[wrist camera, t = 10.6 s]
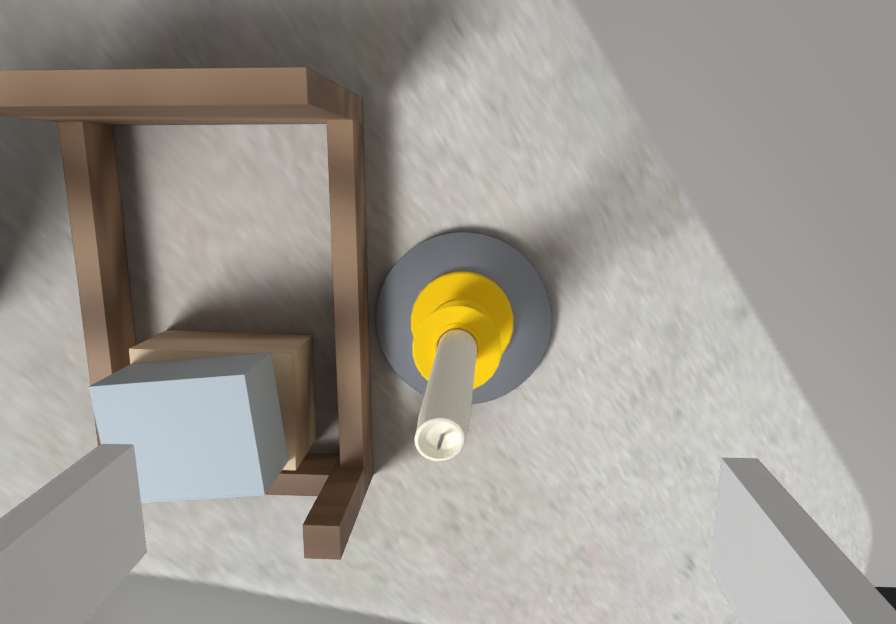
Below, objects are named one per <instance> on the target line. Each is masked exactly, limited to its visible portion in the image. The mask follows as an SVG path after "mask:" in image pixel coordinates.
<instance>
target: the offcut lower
mask: <svg viewBox="0 0 896 624" xmlns="http://www.w3.org/2000/svg"><path fill="white" fill-rule="evenodd" d="M269 352H271V355H272V361H273V367H274V374H275V380H276V386H277V392H278V399H279V405H280V411H281V417H282V423H283V430H284V436H285V442H286V448H287V455H288V463H287V464H286V465H285V467H284V468H283V470H296V469H297V468H298V466H299V465H300V463H301V462H302V460H303V459H304V457H305V456H306V454H307V452H308V451H309V449H310V448H311V446H312V445H313V443H314V442H315V406H314V373H313V339H312V335H304V334H272V333H240V332H209V331H177V330H166V331H164V332H162V333H160V334H158V335H156V336H153V337H151V338H149V339H147V340H145V341H143V342H141V343H139V344H137V345H135V346H133V347H131V348H129V356H130V364H133V363H145V362H158V361H170V360H183V359H195V358H208V357H220V356H233V355H245V354H258V353H269Z"/></svg>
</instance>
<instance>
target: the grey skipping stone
mask: <svg viewBox="0 0 896 624" xmlns="http://www.w3.org/2000/svg"><path fill="white" fill-rule="evenodd" d="M454 271H469V272H473V273H477V274H481V275H483V276H485V277H487V278H488V279H490V280H492V281H494V282H495V283H496V284H497V285H498V286H499V287H500V288H501V289H502V290H503V292H504V293H505V295H506V297H507V298H508V300H509V302H510V305H511V309H512V313H513V333H512V336H511V340H510V343H509V344H508V346H507V348H506V349H505V351H504V353H503V354H502V355H501V359H500V362H499V366H498V368H497V369H496V371H495V373H494V374H493V376H492V377H491V378H490V379H489V380H488V381H487V382H485V383H484V384H483V385H481V386H479V387H477V388H475V389H473V393H472V403H471V404H477V403H483V402H487V401H490V400H494V399H497V398H499V397H501V396H503V395H506V394H507V393H509V392H511V391H512V390H514V389H516V388H517V387H518V386H519V385H521V384H522V383H523V382H524V381H525V380H526V379H527V378H528V377H529V376H530V375H531V374H532V373H533V371H534V370H535V369H536V367H537V366H538V365H539V363H540V361H541V359H542V357H543V356H544V353H545V351H546V348H547V346H548V342H549V338H550V334H551V325H552V316H551V306H550V300H549V297H548V294H547V291H546V288H545V286H544V284H543V281H542V279H541V277H540V276H539V274H538V272H537V271H536V269H535V268H534V266H533V265H532V264H531V263H530V262H529V261H528V259H527V258H526V257H525V256H523V255H522V254H521V253H520V252H519V251H518V250H516V249H515V248H513V247H512V246H510V245H509V244H507V243H505V242H503V241H501V240H499V239H497V238H494V237H491V236H488V235H484V234H479V233H472V232H454V233H448V234H443V235H439V236H436V237H433V238H430V239H428V240H426V241H424V242H422V243H420V244H418V245H417V246H415V247H414V248H412V249H411V250H410V251H409V252H407V253H406V254H405V255H404V256H403V257H402V258H401V259H400V260H399V261H398V262H397V263H396V264H395V266H394V267H393V268H392V270H391V271H390V273H389V274H388V276H387V277H386V279H385V282H384V284H383V286H382V288H381V291H380V294H379V298H378V303H377V309H376V326H377V333H378V338H379V342H380V345H381V347H382V350H383V353H384V355H385V356H386V358H387V360H388V362H389V364H390V365H391V366H392V368H393V369H394V371H395V372H396V373H397V374H398V375H399V376H400V377H401V378H402V380H404V381H405V382H406V383H407V384H408V385H410V386H411V387H412V388H414V389H415V390H417V391H418V392H420V393H422V394H424V395H425V392H426V388H427V384H428V381H427V380H426V379H425V378H424V377H423V376H422V375H421V373H420V371H419V370H418V368H417V367H416V364H415V361H414V358H413V349H412V343H413V339H414V338H413V334H412V331H411V314H412V310H413V305H414V303H415V301H416V299H417V297H418V296H419V294H420V292H421V291H422V290H423V289H424V288H425V287H426V286H427V284H428V283H429V282H431V281H432V280H434V279H436V278H437V277H439V276H441V275H443V274H447V273H451V272H454Z"/></svg>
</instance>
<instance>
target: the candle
mask: <svg viewBox="0 0 896 624" xmlns="http://www.w3.org/2000/svg"><path fill="white" fill-rule="evenodd" d="M411 331H412V334H413V338H414V339H413V343H412V349H413V358H414V361H415V364H416V367H417V368H418V370H419V371H420V373H421V375H422V376H423V377H424V378H425V379H426V380H427V381H428V384H427V388H426V392H425V395H424V399H423V403H422V406H421V410H420V414H419V417H418V423H417V430H416V434H415V437H414V438H415V446H416V448H417V450H418V451H419V453H420V454H421V455H422V456H424V457H425V458H427V459H429V460H433V461H445V460H448V459H451V458H453V457H454V456H456V455H457V454H458V453H459V452H460V451H461V449H462V448H463V446H464V443H465V440H466V435H467V431H468V426H469V421H470V412H471V403H472V393H473V389H475V388H477V387H479V386H481V385H483V384H484V383H485V382H487V381H488V380H489V379H490V378H491V377H492V376H493V374H494V373H495V371H496V369H497V368H498V366H499V362H500V359H501V355H502V354H503V353H504V351H505V349H506V348H507V346H508V344H509V343H510V340H511V336H512V333H513V313H512V309H511V305H510V302H509V300H508V298H507V297H506V295H505V293H504V292H503V290H502V289H501V288H500V287H499V286H498V285H497V284H496V283H495V282H494V281H492V280H490V279H488V278H487V277H485V276H483V275H481V274H477V273H473V272H469V271H454V272H451V273H447V274H443V275H441V276H439V277H437V278H436V279H434V280H432V281H431V282H429V283H428V284H427V286H426V287H425V288H424V289H423V290H422V291H421V292H420V294H419V296H418V297H417V299H416V301H415V303H414V305H413V310H412V314H411Z"/></svg>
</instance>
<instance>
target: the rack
mask: <svg viewBox="0 0 896 624" xmlns="http://www.w3.org/2000/svg"><path fill="white" fill-rule="evenodd" d="M0 116H9V117H18V118H27V119H36V120H46V121H55V122H58V128H59V136H60V144H61V152H62V160H63V168H64V176H65V184H66V192H67V200H68V208H69V216H70V224H71V232H72V240H73V248H74V256H75V264H76V272H77V280H78V288H79V296H80V305H81V313H82V321H83V329H84V337H85V345H86V353H87V361H88V369H89V377H90V385H92V384H94V383H96V382H98V381H100V380H102V379H104V378H105V377H107V376H109V375H111V374H113V373H115V372H117V371H119V370H120V369H122V368H124V367H126V366H128V365H130V356H129V348H131V347H133V346H135V345H136V339H135V330H134V321H133V311H132V302H131V293H130V283H129V274H128V265H127V255H126V246H125V237H124V228H123V218H122V209H121V200H120V190H119V181H118V172H117V162H116V153H115V144H114V135H113V125H225V124H327V142H328V167H329V192H330V218H331V243H332V268H333V293H334V318H335V344H336V369H337V394H338V419H339V444H340V454H306V456H305V457H304V459H303V460H302V462H301V463H300V465H299V466H298V468H297V469H296V470H282V471H281V473H280V474H279V476H278V477H277V478H276V480H275V481H274V483H273V484H272V486H271V487H270V489H269V490H268V491H267V493H266V494H265V495H297V496H318V497H317V499H316V501H315V503H314V505H313V507H312V508H311V510H310V512H309V514H308V516H307V518H306V520H305V522H304V524H303V539H304V558H312V559H339V560H341V557H342V555H343V552H344V550H345V547H346V544H347V542H348V539H349V537H350V534H351V531H352V529H353V526H354V524H355V521H356V518H357V516H358V513H359V510H360V508H361V505H362V503H363V500H364V497H365V495H366V492H367V490H368V487H369V484H370V482H371V479H372V477H373V459H372V424H371V388H370V353H369V317H368V282H367V246H366V211H365V175H364V140H363V104H362V98H361V97H359V96H357V95H356V94H354V93H352V92H350V91H348V90H346V89H345V88H343V87H341V86H339V85H337V84H336V83H334V82H332V81H330V80H328V79H326V78H325V77H323V76H321V75H319V74H317V73H316V72H314V71H312V70H310V69H308V68H306V67H282V68H194V69H106V70H18V71H0ZM94 417H95V415H94ZM95 425H96V433H97V441H98V446H99V445H100V444H101V442H100V438H99V433H98V429H97V424H96V420H95Z"/></svg>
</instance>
